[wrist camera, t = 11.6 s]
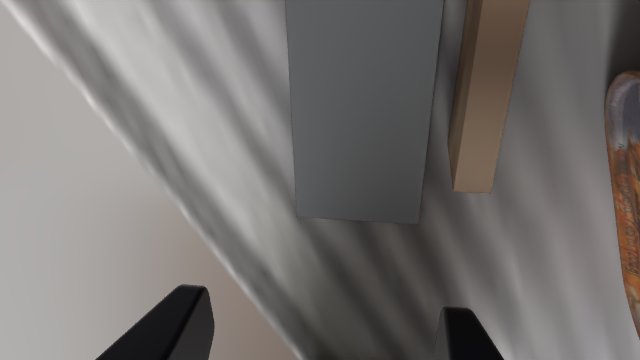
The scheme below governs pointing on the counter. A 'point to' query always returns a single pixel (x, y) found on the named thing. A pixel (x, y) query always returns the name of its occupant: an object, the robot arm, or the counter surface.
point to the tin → (626, 177)
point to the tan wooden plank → (483, 90)
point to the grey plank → (361, 105)
